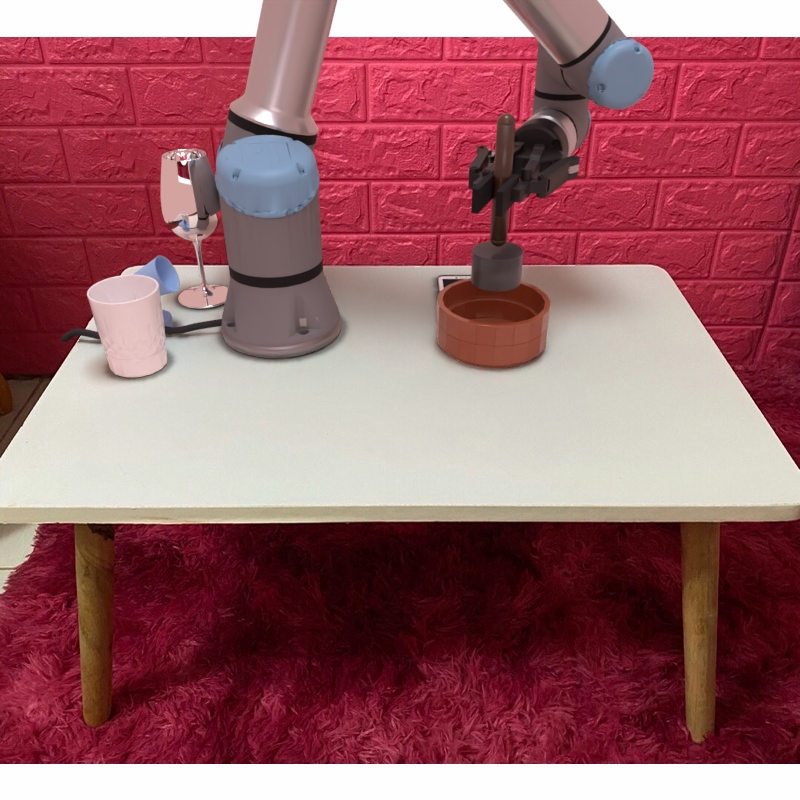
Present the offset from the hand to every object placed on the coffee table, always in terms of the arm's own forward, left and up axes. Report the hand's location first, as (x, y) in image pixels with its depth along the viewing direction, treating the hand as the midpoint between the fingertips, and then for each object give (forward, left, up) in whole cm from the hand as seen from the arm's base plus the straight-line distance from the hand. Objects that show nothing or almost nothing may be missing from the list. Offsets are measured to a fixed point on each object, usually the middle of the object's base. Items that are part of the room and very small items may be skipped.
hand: (487, 202), depth 83 cm
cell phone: (-4, +17, -21) cm, 27 cm away
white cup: (-40, -9, -20) cm, 46 cm away
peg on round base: (+1, +5, -11) cm, 13 cm away
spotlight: (-42, 0, -20) cm, 47 cm away
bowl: (+1, +6, -20) cm, 21 cm away
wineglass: (-40, +10, -20) cm, 46 cm away
